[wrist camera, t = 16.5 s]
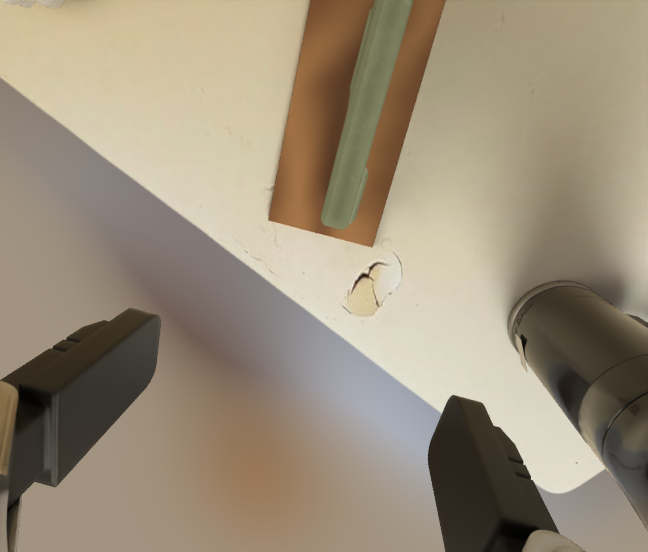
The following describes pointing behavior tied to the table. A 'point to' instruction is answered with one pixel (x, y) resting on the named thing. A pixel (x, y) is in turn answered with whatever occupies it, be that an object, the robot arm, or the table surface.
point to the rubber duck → (28, 1)
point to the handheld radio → (364, 109)
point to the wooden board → (331, 109)
